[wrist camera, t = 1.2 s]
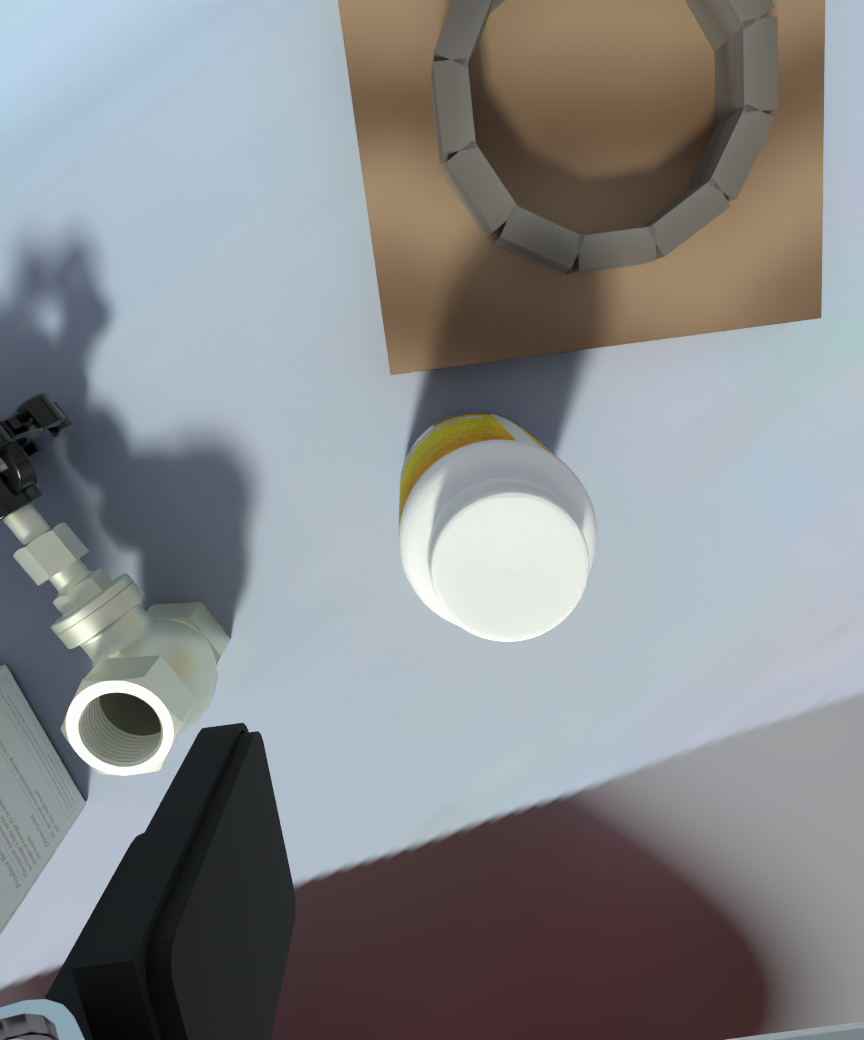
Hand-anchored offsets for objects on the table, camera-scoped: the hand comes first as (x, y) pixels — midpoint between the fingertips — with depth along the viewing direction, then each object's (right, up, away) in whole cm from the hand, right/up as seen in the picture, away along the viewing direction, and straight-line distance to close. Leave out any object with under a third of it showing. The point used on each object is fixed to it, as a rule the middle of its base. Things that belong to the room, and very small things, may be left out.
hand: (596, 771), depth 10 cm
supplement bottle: (-1, +5, +18) cm, 18 cm away
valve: (-14, +2, +18) cm, 23 cm away
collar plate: (+3, +17, +14) cm, 22 cm away
